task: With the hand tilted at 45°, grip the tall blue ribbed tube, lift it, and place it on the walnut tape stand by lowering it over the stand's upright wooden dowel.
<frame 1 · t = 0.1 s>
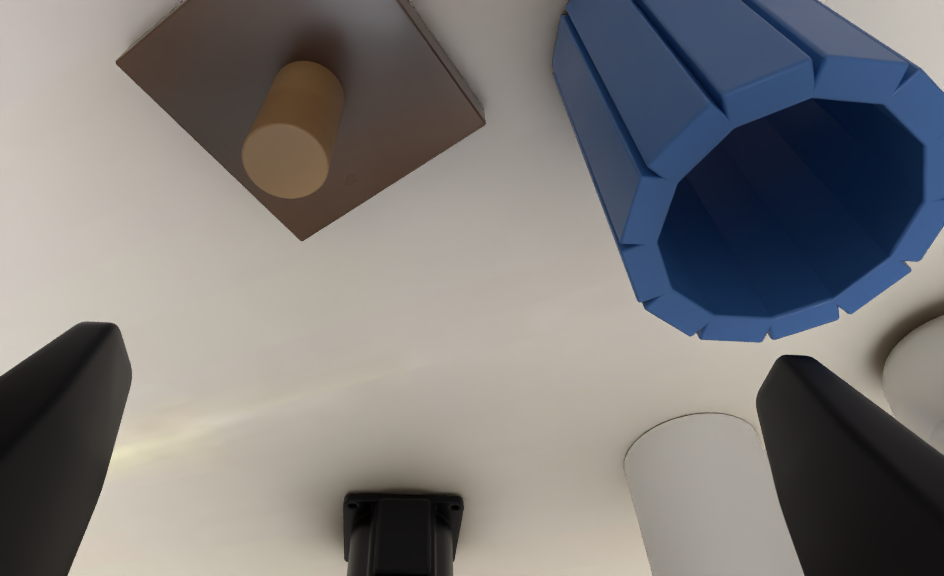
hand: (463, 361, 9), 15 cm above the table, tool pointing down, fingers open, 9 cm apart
plastic bottle: (935, 340, 31), on the table
tape stand: (313, 80, 21), on the table
cylindrical container: (689, 454, 35), on the table
blue ribbed tube: (659, 50, 21), on the table
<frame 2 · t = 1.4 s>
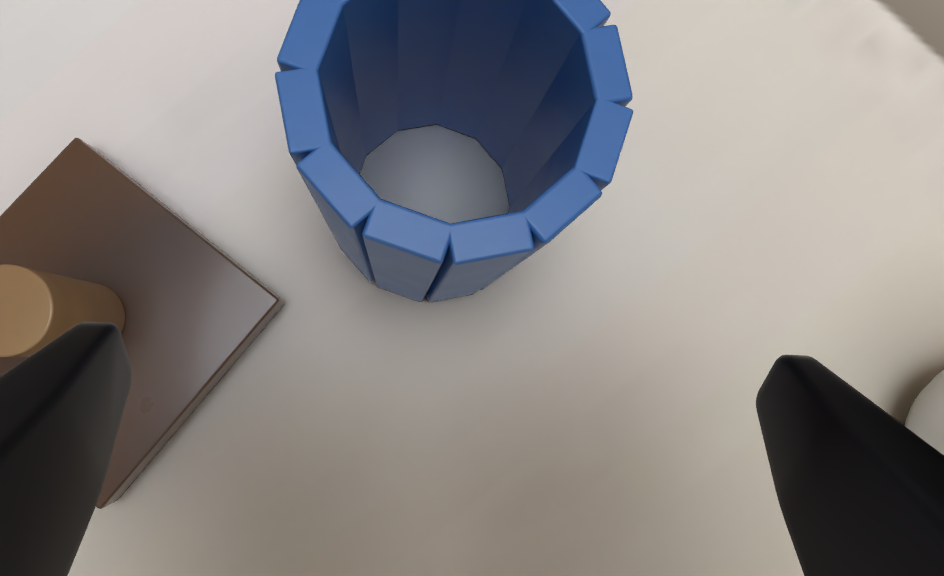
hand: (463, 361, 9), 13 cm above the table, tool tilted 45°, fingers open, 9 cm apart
tape stand: (104, 320, 21), on the table
blue ribbed tube: (431, 201, 23), on the table
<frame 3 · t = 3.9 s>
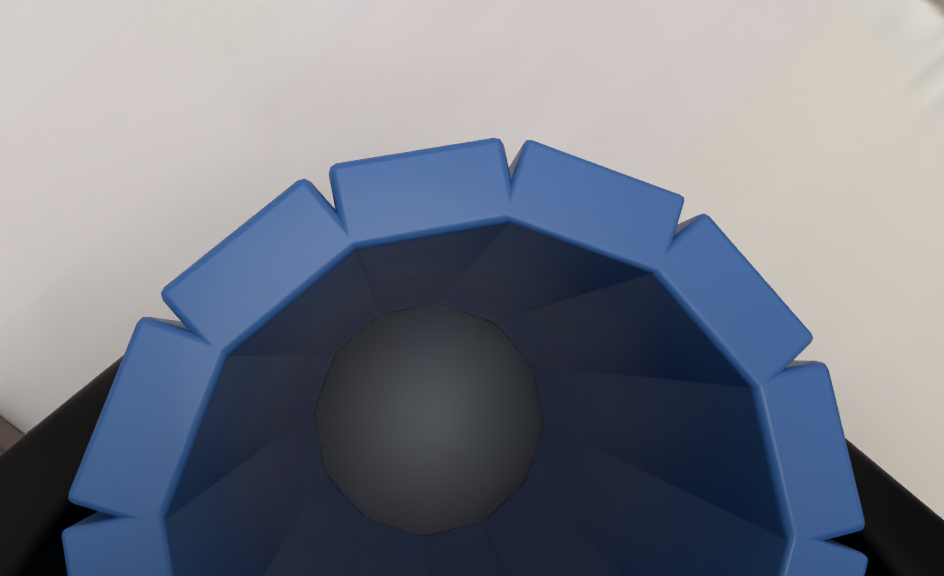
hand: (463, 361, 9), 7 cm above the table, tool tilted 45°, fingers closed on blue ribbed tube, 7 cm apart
blue ribbed tube: (430, 417, 16), on the table, touching gripper
when the fingers open (8 cm above the table, at t = 10.1 s): blue ribbed tube stays where it is, resting on tape stand.
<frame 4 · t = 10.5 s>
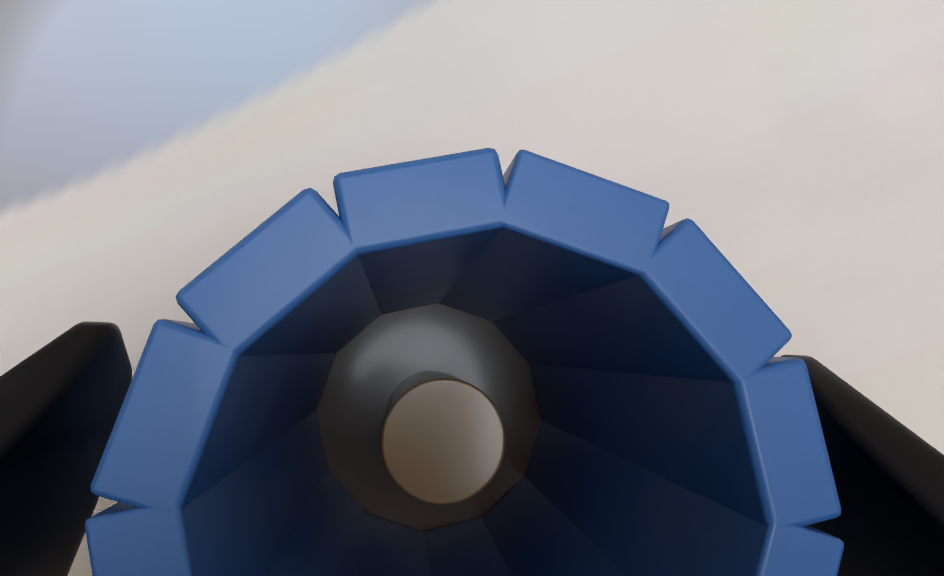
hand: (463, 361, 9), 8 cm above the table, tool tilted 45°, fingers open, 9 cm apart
tape stand: (428, 412, 17), on the table
blue ribbed tube: (430, 415, 16), point 1 cm above the table, touching tape stand
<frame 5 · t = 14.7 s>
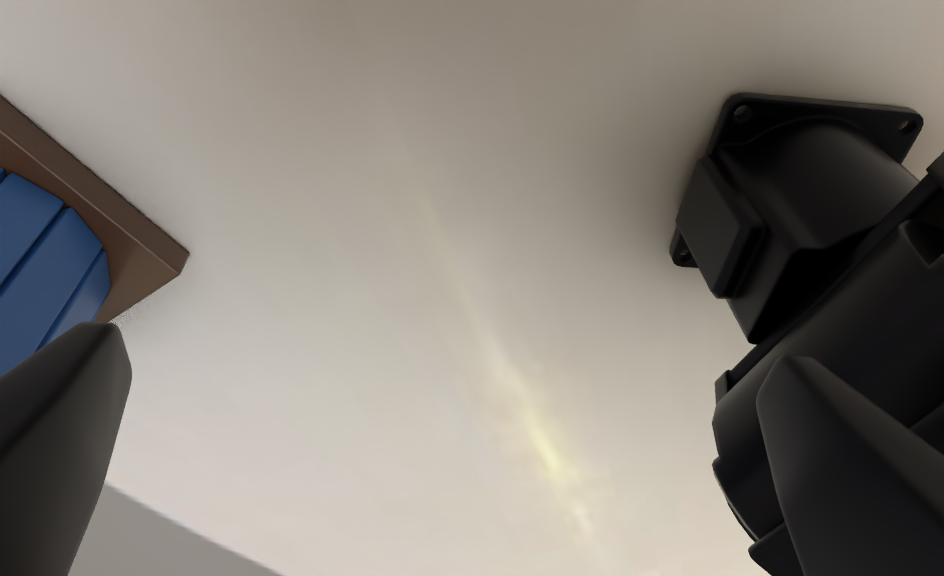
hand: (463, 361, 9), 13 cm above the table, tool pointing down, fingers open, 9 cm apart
tape stand: (17, 231, 23), on the table
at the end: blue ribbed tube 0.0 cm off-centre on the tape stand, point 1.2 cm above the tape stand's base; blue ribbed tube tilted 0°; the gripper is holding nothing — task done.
